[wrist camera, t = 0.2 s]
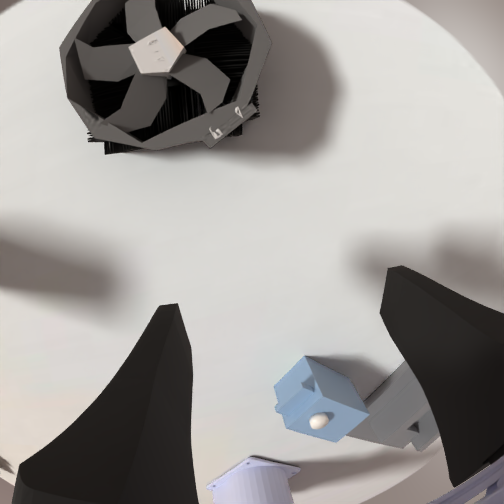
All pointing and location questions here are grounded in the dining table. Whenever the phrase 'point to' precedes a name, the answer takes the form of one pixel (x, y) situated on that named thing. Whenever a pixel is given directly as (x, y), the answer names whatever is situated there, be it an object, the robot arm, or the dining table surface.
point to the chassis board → (398, 413)
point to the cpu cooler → (164, 71)
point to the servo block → (319, 401)
